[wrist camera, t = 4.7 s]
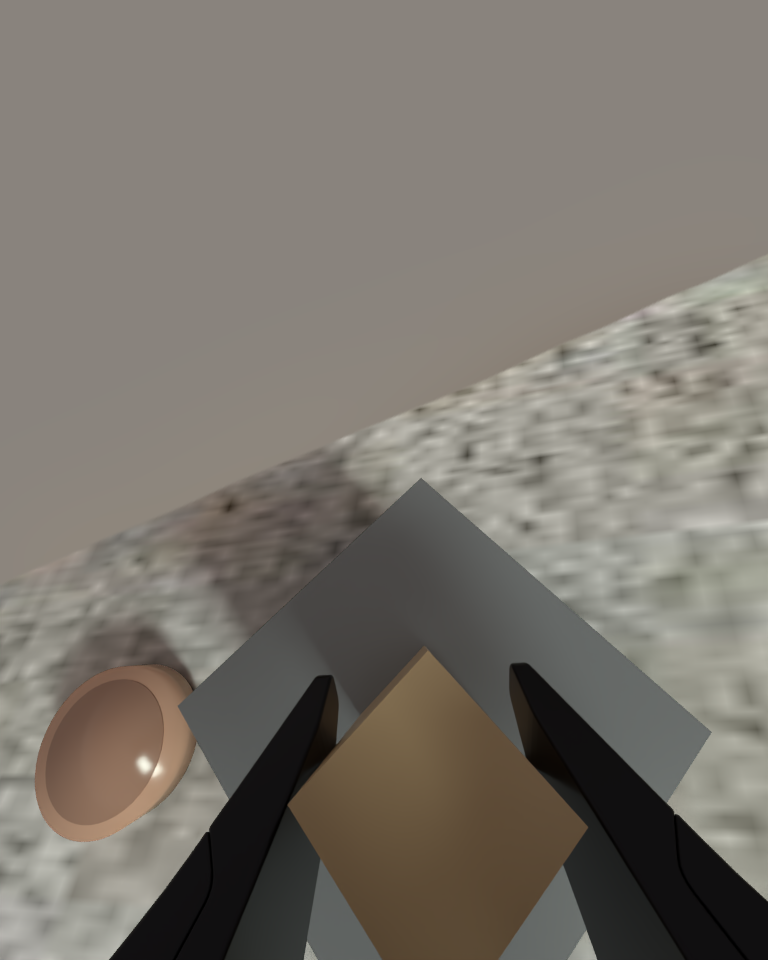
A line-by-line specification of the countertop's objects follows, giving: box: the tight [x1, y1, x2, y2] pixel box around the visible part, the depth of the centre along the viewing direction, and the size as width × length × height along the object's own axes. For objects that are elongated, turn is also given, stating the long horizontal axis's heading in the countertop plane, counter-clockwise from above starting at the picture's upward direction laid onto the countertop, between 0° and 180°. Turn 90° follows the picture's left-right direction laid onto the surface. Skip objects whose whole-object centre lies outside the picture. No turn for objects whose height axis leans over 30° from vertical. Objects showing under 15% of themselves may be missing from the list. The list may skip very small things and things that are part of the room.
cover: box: [178, 478, 711, 960], centre depth 10 cm, size 12×12×11 cm
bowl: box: [35, 664, 197, 842], centre depth 19 cm, size 7×7×3 cm
